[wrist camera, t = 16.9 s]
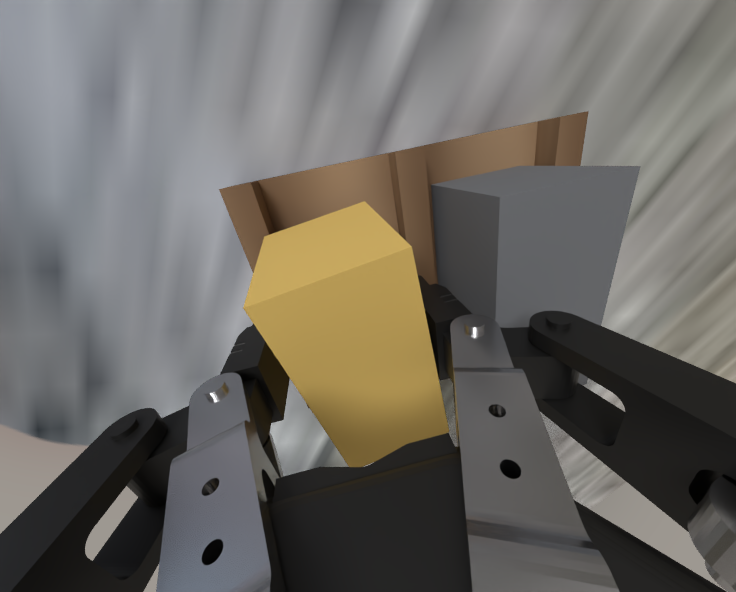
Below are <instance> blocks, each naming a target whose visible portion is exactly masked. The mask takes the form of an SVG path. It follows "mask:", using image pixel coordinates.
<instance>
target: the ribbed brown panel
mask: <svg viewBox="0 0 736 592" xmlns="http://www.w3.org/2000/svg"><path fill="white" fill-rule="evenodd" d="M587 117H588V111H587V112H582V113H577V114H572V115H567V116H562V117H557V118H552V119H547V120H543V121H538V122H533V123H528V124H524V125H519V126H514V127H510V128H505V129H500V130H495V131H491V132H486V133H481V134H476V135H472V136H467V137H462V138H457V139H453V140H448V141H443V142H439V143H434V144H429V145H424V146H420V147H415V148H410V149H405V150H401V151H396V152H391V153H387V154H382V155H377V156H372V157H368V158H363V159H358V160H353V161H349V162H344V163H339V164H334V165H330V166H325V167H320V168H316V169H311V170H306V171H301V172H297V173H292V174H287V175H282V176H278V177H273V178H268V179H264V180H259V181H254V182H249V183H245V184H240V185H235V186H231V187H227V188H223V189H219V190H220V193H221V195H222V198H223V200H224V203H225V205H226V208H227V210H228V212H229V215H230V217H231V220H232V222H233V225H234V227H235V230H236V232H237V235H238V237H239V239H240V242H241V244H242V247H243V249H244V252H245V254H246V257H247V259H248V261H249V264H250V266H251V269H252V271H253V273H254V270H255V266H256V263H257V260H258V256H259V253H260V249H261V246H262V243H263V239H264V236H267V235H270V234H273V233H276V232H279V231H281V230H284V229H287V228H290V227H293V226H296V225H298V224H301V223H304V222H307V221H310V220H313V219H315V218H318V217H321V216H324V215H327V214H330V213H333V212H335V211H338V210H341V209H344V208H347V207H350V206H352V205H355V204H358V203H361V202H364V201H365V202H366V203H367V204H368V205H369V206H370V207H371V208H372V209H373V210H374V211H375V212H376V213H378V214H379V215H380V216H381V217H382V218H383V219H384V220H385V221H386V222H387V223H388V224H389V225H390V226H391V227H392V228H393V229H394V230H395V231H396V232H397V233H398V234H399V235H400V236H401V237H402V238H403V239H404V240H405V241H406V242H407V243H409V244H410V245H411V246H412V250H413V255H414V260H415V265H416V270H417V275H418V276H419V275H421V276H422V277H423V278H424V279H425V280H426V281H427V283H428V284H429V285H431V284H438V278H437V264H436V250H435V236H434V221H433V207H432V193H431V185H432V184H436V183H441V182H446V181H450V180H455V179H460V178H464V177H469V176H474V175H478V174H483V173H488V172H493V171H497V170H502V169H507V168H511V167H516V166H580V164H581V157H582V151H583V144H584V137H585V131H586V124H587ZM307 406H308V404H307ZM308 408H310V407H309V406H308Z"/></svg>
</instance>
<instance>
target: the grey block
mask: <svg viewBox="0 0 736 592" xmlns="http://www.w3.org/2000/svg"><path fill="white" fill-rule="evenodd" d="M639 169H640V166H516V167H511V168H507V169H502V170H497V171H493V172H488V173H483V174H478V175H474V176H469V177H464V178H460V179H455V180H450V181H446V182H441V183H436V184H432V185H431V193H432V207H433V221H434V236H435V250H436V264H437V278H438V285H441V286H443V287H446V288H447V289H448V290H449V291H450V292H451V293H452V295H454V296H455V297H456V298H457V300H459V301H460V302H461V303H462V304H463V305H464V306H465V307H466V308H467V309H468V310H469V311H470V312H471V313H472V314H478V315H484V316H487V317H490V318H492V319H494V320H495V321H496V322H497V323H498V324H499V326H500V327H501V328H517V327H529V321H530V318H531V316H533V315H534V314H536V313H538V312H542V311H562V312H567V313H571V314H574V315H576V316H579V317H581V318H583V319H586V320H588V321H590V322H593V323H595V324H597V325H600V326H601V323H602V319H603V315H604V311H605V307H606V303H607V299H608V295H609V291H610V287H611V283H612V279H613V275H614V271H615V267H616V263H617V258H618V254H619V250H620V246H621V242H622V238H623V234H624V230H625V226H626V222H627V218H628V214H629V210H630V206H631V202H632V198H633V194H634V190H635V186H636V182H637V178H638V173H639ZM587 380H588V377H586V376H584V375H583V374H581V373H580V374H579V379H578V383H579V384H581V385H584V384H587Z"/></svg>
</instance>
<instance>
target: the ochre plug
mask: <svg viewBox="0 0 736 592" xmlns="http://www.w3.org/2000/svg"><path fill="white" fill-rule="evenodd" d="M243 308H244V310H245V311H246V313H247V314H248V316H249V317H250V319H251V320H252V322H253V323H254V325H255V326H256V328H257V329H258V331H259V332H260V334H261V335H262V337H263V338H264V340H265V341H266V343H267V344H268V346H269V347H270V349H271V350H272V352H273V353H274V355H275V356H276V358H277V359H278V361H279V362H280V364H281V365H282V367H283V368H284V370H285V371H286V373H287V374H288V376H289V377H290V379H291V380H292V382H293V383H294V385H295V386H296V388H297V389H298V391H299V392H300V394H301V395H302V397H303V398H304V400H305V401H306V403H307V404H308V406H309V407H310V409H311V410H312V412H313V413H314V415H315V416H316V418H317V419H318V421H319V422H320V424H321V425H322V427H323V428H324V430H325V431H326V433H327V434H328V436H329V437H330V439H331V440H332V442H333V443H334V445H335V446H336V448H337V449H338V451H339V452H340V454H341V455H342V457H343V458H344V460H345V461H346V463H347V464H348V466H349V467H363V466H365V465H368V464H370V463H373V462H375V461H377V460H379V459H381V458H383V457H384V456H386V455H388V454H390V453H392V452H393V451H395V450H397V449H399V448H400V447H402V446H404V445H406V444H408V443H412V442H415V441H419V440H423V439H427V438H430V437H434V436H438V435H442V434H445V433H448V432H449V428H448V423H447V418H446V413H445V408H444V403H443V398H442V393H441V388H440V383H439V378H438V373H437V368H436V363H435V359H434V354H433V349H432V344H431V339H430V334H429V329H428V324H427V319H426V314H425V309H424V304H423V299H422V294H421V289H420V284H419V280H418V275H417V270H416V265H415V260H414V255H413V250H412V246H411V245H410V244H409V243H407V242H406V241H405V240H404V239H403V238H402V237H401V236H400V235H399V234H398V233H397V232H396V231H395V230H394V229H393V228H392V227H391V226H390V225H389V224H388V223H387V222H386V221H385V220H384V219H383V218H382V217H381V216H380V215H379V214H378V213H376V212H375V211H374V210H373V209H372V208H371V207H370V206H369V205H368V204H367V203H366V202H365V201H364V202H361V203H358V204H355V205H352V206H350V207H347V208H344V209H341V210H338V211H335V212H333V213H330V214H327V215H324V216H321V217H318V218H315V219H313V220H310V221H307V222H304V223H301V224H298V225H296V226H293V227H290V228H287V229H284V230H281V231H279V232H276V233H273V234H270V235H267V236H264V239H263V243H262V246H261V249H260V253H259V256H258V260H257V263H256V266H255V270H254V273H253V277H252V280H251V283H250V287H249V290H248V294H247V297H246V300H245V304H244V307H243Z"/></svg>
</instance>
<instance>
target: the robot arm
mask: <svg viewBox="0 0 736 592" xmlns="http://www.w3.org/2000/svg"><path fill="white" fill-rule="evenodd" d="M418 280H419V284H420V289H421V294H422V299H423V304H424V309H425V314H426V319H427V324H428V329H429V334H430V339H431V344H432V349H433V354H434V359H435V363H436V368H437V373H438V377H439V379H440V380H444V379H448V378H450V379H451V380H452V382H453V391H454V405H455V419H456V433H457V447H455V446H454V444H453V442H452V440H451V438H450V435H449V433H445V434H442V435H438V436H434V437H430V438H427V439H423V440H419V441H415V442H412V443H408V444H406V445H404V446H402V447H400V448H399V449H397V450H395V451H393V452H392V453H390V454H388V455H386V456H384V457H383V458H381V459H379V460H377V461H376V462H374V463H372V464H370V465H368V466H365V467H318V468H314V469H311V470H307V471H303V472H299V473H296V474H292V475H288V476H283V472H282V469H281V465H280V462H279V458H278V455H277V451H276V448H275V444H274V441H273V438H272V436H271V434H270V427H271V423H273V422H277V421H281V420H283V419H284V412H285V405H286V399H287V392H288V385H289V378H290V377H289V376H288V374H287V373H286V371H285V370H284V368H283V367H282V365H281V364H280V362H279V361H278V359H277V358H276V356H275V355H274V353H273V352H272V350H271V349H270V347H269V346H268V344H267V343H266V341H265V340H264V338H263V337H262V335H261V334H260V332H259V331H258V329H257V328H256V326H255V325H254V323H253V325H252V326H251V327H247V328H246V329H245V330H244V331H243V332H242V333H241V334H240V335H239V336H238V338H237V340H236V342H235V344H234V345H235V346H234V347H233V349H232V351H231V354H230V355H229V357H228V359H227V361H226V363H225V365H224V367H223V369H222V371H221V374H220V375H218V376H215V377H213V378H211V379H210V380H208V381H206V382H205V383H204V384H202V385H201V386H200V387H199V388H198V389H197V390H196V391H195V392H194V393H193V395H192V396H191V399H190V402H189V406H188V407H186V408H183V409H181V410H179V411H177V412H175V413H173V414H170V415H168V416H166V417H164V418H161V417H160V415H159V414H158V413H157V412H156V410H154V409H152V408H145V409H140V410H137V411H134V412H132V413H130V414H128V415H126V416H124V417H122V418H121V419H119V420H118V421H116V422H115V423H113V424H112V425H111V426H109V427H108V428H107V429H106V430H105V431H104V432H103V433H102V434H101V435H100V436H99V437H98V438H97V439H96V440H95V441H94V442H93V443H92V444H91V445H90V446H89V447H88V448H87V449H86V450H85V451H84V452H83V453H82V454H81V455H80V456H79V457H78V458H77V459H76V460H75V461H74V462H72V464H70V465H69V466H68V468H66V469H65V471H63V472H62V473H61V474H60V475H59V476H58V477H57V478H56V479H55V480H54V481H53V482H52V483H51V484H50V485H49V486H48V487H47V488H46V489H45V490H44V491H43V492H42V493H41V494H40V495H39V496H38V497H37V498H36V499H35V500H34V501H33V502H32V503H31V504H30V505H29V506H28V507H27V508H26V509H25V510H24V511H23V512H22V513H21V514H20V515H19V516H18V517H17V518H16V519H15V520H14V521H13V522H12V523H11V524H10V525H9V526H8V527H7V528H6V529H5V530H4V531H3V532H2V533H1V534H0V592H143V591H144V589H145V587H146V586H147V584H148V582H149V580H150V578H151V577H152V575H153V573H154V571H155V569H156V567H157V566H158V564H159V572H158V581H157V590H156V592H726V591H728V592H736V383H734V382H731V381H729V380H727V379H724V378H722V377H719V376H717V375H715V374H712V373H710V372H708V371H705V370H703V369H701V368H698V367H696V366H694V365H691V364H689V363H687V362H684V361H682V360H680V359H677V358H675V357H673V356H670V355H668V354H666V353H663V352H661V351H658V350H656V349H654V348H651V347H649V346H647V345H644V344H642V343H640V342H637V341H635V340H633V339H630V338H628V337H626V336H623V335H621V334H619V333H616V332H614V331H612V330H609V329H607V328H605V327H602V326H600V325H597V324H595V323H593V322H590V321H588V320H586V319H583V318H581V317H579V316H576V315H574V314H571V313H567V312H562V311H542V312H538V313H536V314H534V315H533V316H531V318H530V321H529V327H517V328H501V327H500V326H499V324H498V323H497V322H496V321H495V320H494V319H492V318H490V317H487V316H484V315H478V314H472V313H471V312H470V311H469V310H468V309H467V308H466V307H465V306H464V305H463V304H462V303H461V302H460V301H459V300H457V298H456V297H455V296H454V295H452V293H451V292H450V291H449V290H448V289H447V288H446V287H443V286H441V285H438V284H431V285H429V284H428V283H427V281H426V280H425V279H424V278H423V277H422V276H421V275H419V276H418ZM580 373H581V374H583V375H584V376H586V377H588V378H589V379H591V380H593V381H594V382H596V383H598V384H599V385H601V386H603V387H605V388H606V389H608V390H610V391H611V392H613V393H614V394H615V395H616V396H617V397H618V398H619V399H620V400H621V401H622V403H623V405H624V407H625V412H624V411H622V410H621V409H619V408H617V407H616V406H614V405H613V404H611V403H610V402H608V401H606V400H605V399H603V398H602V397H600V396H598V395H597V394H595V393H594V392H592V391H590V390H589V389H587V388H586V387H584V386H583V385H581V384H579V383H578V379H579V374H580ZM540 412H542V413H543V414H544V415H545V416H547V417H548V418H549V419H550V420H551V421H553V422H554V423H555V424H556V425H558V426H559V427H560V428H561V429H563V430H564V431H565V432H566V433H567V434H569V435H570V436H571V437H572V438H574V439H575V440H576V441H577V442H578V443H580V444H581V445H582V446H583V447H585V448H586V449H587V450H588V451H590V452H591V453H592V454H593V455H594V456H596V457H597V458H598V459H599V460H601V461H602V462H603V463H604V464H606V465H607V466H608V467H609V468H610V469H612V470H613V471H614V472H615V473H617V474H618V475H619V476H620V477H622V478H623V479H624V480H625V481H626V482H628V483H629V484H630V485H631V486H633V487H634V488H635V489H636V490H638V491H639V492H640V493H641V494H642V495H644V496H645V497H646V498H647V499H649V500H650V501H651V502H652V503H654V504H655V505H656V506H657V507H658V508H660V509H661V510H662V511H663V512H665V513H666V514H667V515H668V516H669V517H671V518H672V519H673V520H675V521H676V522H677V523H678V524H679V525H681V526H682V527H683V528H684V529H685V530H687V531H688V532H689V534H690V537H691V539H692V541H693V543H694V545H695V547H696V548H697V550H698V551H699V553H700V554H701V555H702V557H703V558H704V559H705V566H706V569H707V571H708V572H709V574H710V575H711V577H712V578H713V579H714V580H715V581H716V582H717V583H718V584H719V585H720V586H721V587H722V588H724V589H725V590H726V591H725V590H723V589H721V588H720V587H718V586H716V585H715V584H713V583H711V582H710V581H708V580H706V579H704V578H703V577H701V576H700V575H698V574H696V573H694V572H693V571H691V570H689V569H688V568H686V567H685V566H683V565H681V564H679V563H678V562H676V561H674V560H673V559H671V558H670V557H668V556H666V555H665V554H663V553H661V552H660V551H658V550H656V549H655V548H653V547H651V546H650V545H648V544H646V543H645V542H643V541H641V540H640V539H638V538H636V537H634V536H633V535H631V534H630V533H628V532H626V531H625V530H623V529H621V528H620V527H618V526H616V525H614V524H613V523H611V522H610V521H608V520H606V519H604V518H603V517H601V516H600V515H598V514H596V513H595V512H593V511H591V510H590V509H588V508H586V507H585V506H583V505H581V504H580V503H578V502H576V501H575V500H573V497H572V495H571V492H570V489H569V487H568V484H567V482H566V479H565V476H564V474H563V471H562V469H561V466H560V463H559V461H558V458H557V456H556V453H555V450H554V448H553V445H552V443H551V440H550V437H549V435H548V432H547V430H546V427H545V424H544V422H543V419H542V417H541V414H540ZM126 485H127V486H128V487H129V488H130V489H131V490H132V491H133V492H134V493H135V494H136V495H137V496H138V499H137V500H136V501H135V503H134V504H133V506H132V507H131V508H130V510H129V511H128V513H127V514H126V515H125V517H124V518H123V519H122V521H121V522H120V524H119V525H118V526H117V528H116V529H115V531H114V532H113V533H112V535H111V536H110V538H109V539H108V540H107V542H106V543H105V545H104V546H103V547H102V549H101V550H100V551H99V553H98V554H97V556H96V557H95V559H94V560H93V561H91V560H90V559H88V558H87V556H86V554H85V544H86V541H87V538H88V536H89V534H90V532H91V531H92V529H93V528H94V526H95V525H96V524H97V523H98V521H99V520H100V518H101V517H102V516H103V515H104V514H105V512H106V511H107V510H108V508H109V507H110V506H111V505H112V503H113V502H114V501H115V499H116V498H117V497H118V495H119V494H120V493H121V492H122V490H123V489H124V488H125V487H126ZM159 562H160V563H159Z"/></svg>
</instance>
